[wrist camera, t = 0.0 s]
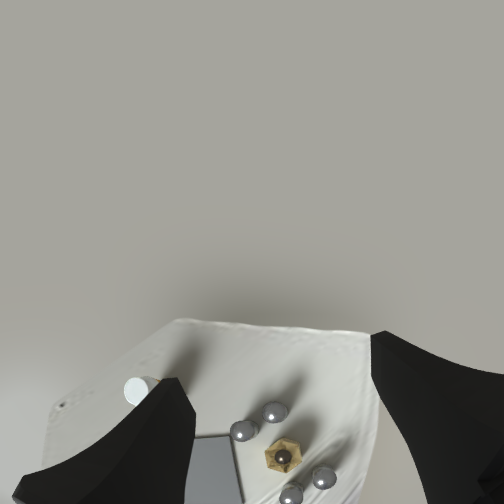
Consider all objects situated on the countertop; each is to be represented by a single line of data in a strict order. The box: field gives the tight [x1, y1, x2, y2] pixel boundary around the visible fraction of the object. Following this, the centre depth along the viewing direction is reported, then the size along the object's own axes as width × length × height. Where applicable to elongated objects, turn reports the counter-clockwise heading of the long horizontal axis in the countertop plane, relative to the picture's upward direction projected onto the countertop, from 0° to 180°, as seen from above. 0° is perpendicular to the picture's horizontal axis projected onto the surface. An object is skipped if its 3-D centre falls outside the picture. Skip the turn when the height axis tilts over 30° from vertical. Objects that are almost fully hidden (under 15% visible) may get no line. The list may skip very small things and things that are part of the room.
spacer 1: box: [230, 421, 259, 442], centre depth 33 cm, size 3×3×5 cm
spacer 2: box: [262, 402, 288, 423], centre depth 34 cm, size 3×3×5 cm
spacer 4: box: [312, 464, 337, 490], centre depth 27 cm, size 3×3×5 cm
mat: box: [184, 436, 243, 504], centre depth 31 cm, size 12×9×1 cm
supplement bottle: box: [124, 377, 160, 406], centre depth 35 cm, size 5×5×10 cm
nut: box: [265, 438, 302, 473], centre depth 30 cm, size 5×4×4 cm
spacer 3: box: [279, 482, 303, 504], centre depth 26 cm, size 3×3×5 cm
